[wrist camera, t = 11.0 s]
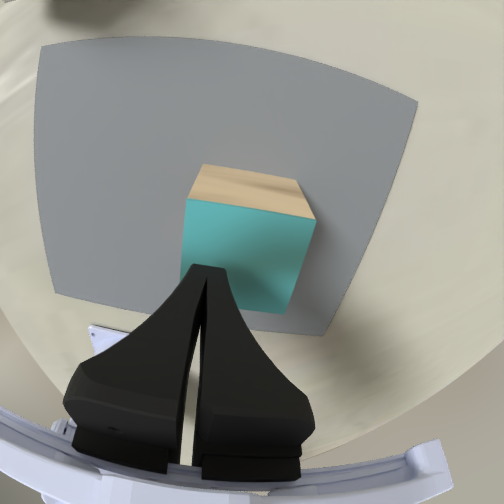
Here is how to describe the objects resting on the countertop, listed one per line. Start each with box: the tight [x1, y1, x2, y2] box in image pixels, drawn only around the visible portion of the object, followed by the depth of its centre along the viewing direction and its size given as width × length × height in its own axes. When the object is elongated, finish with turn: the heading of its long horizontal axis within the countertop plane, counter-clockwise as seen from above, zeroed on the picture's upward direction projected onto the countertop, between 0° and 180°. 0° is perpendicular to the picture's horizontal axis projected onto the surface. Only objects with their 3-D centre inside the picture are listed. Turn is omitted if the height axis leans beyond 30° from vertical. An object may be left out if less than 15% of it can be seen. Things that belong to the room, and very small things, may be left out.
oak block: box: [180, 164, 317, 314], centre depth 16 cm, size 6×6×6 cm
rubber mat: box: [34, 37, 418, 336], centre depth 18 cm, size 20×24×1 cm
